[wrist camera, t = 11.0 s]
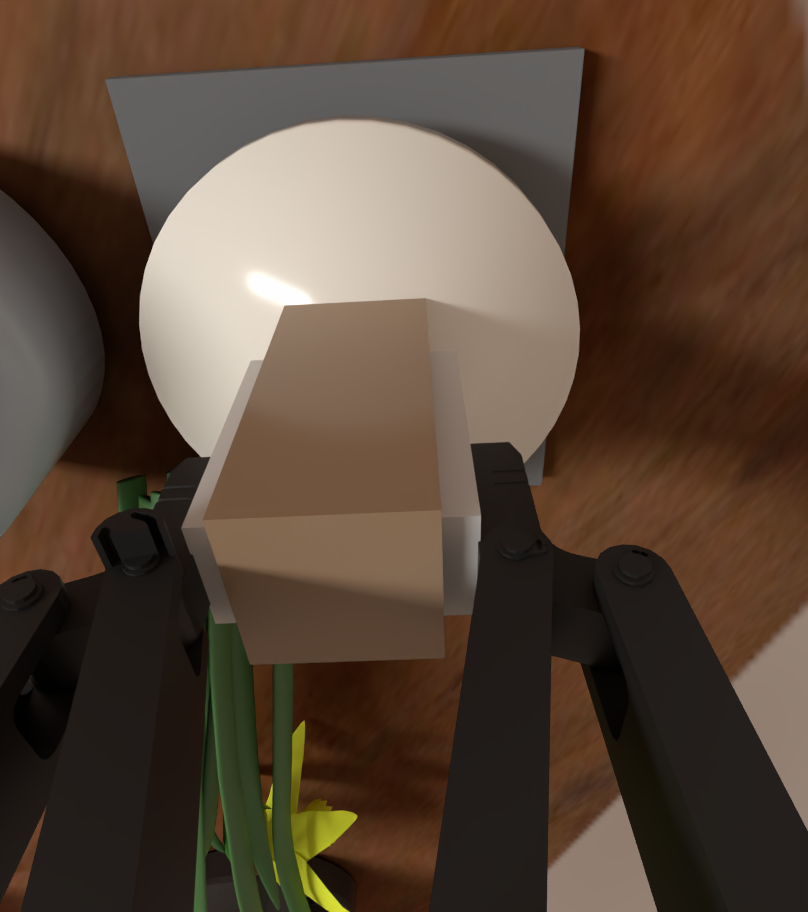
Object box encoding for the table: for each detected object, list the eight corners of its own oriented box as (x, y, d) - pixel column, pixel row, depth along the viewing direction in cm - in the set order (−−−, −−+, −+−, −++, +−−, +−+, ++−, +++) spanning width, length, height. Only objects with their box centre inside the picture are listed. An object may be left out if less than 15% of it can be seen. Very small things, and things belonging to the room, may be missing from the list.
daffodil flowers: (486, 475, 26) (389, 972, 40) (228, 389, 33) (220, 844, 46) (159, 730, 12) (179, 1362, 26) (-183, 495, 19) (-24, 1103, 32)
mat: (538, 472, 26) (541, 485, 26) (231, 486, 27) (227, 498, 26) (577, 46, 17) (584, 48, 17) (115, 76, 18) (105, 79, 17)
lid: (552, 495, 23) (632, 764, 15) (209, 509, 24) (108, 779, 16) (596, 99, 16) (808, 213, 8) (89, 131, 16) (-235, 271, 8)
